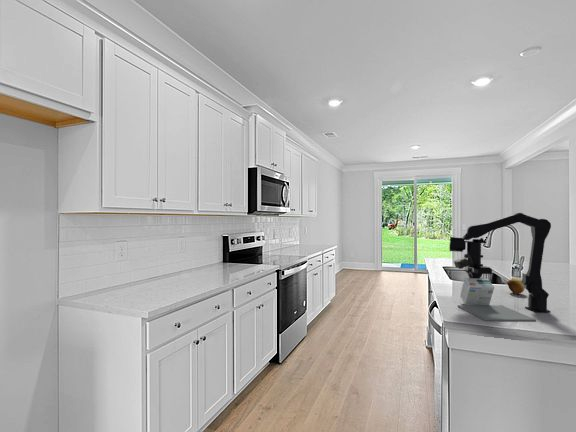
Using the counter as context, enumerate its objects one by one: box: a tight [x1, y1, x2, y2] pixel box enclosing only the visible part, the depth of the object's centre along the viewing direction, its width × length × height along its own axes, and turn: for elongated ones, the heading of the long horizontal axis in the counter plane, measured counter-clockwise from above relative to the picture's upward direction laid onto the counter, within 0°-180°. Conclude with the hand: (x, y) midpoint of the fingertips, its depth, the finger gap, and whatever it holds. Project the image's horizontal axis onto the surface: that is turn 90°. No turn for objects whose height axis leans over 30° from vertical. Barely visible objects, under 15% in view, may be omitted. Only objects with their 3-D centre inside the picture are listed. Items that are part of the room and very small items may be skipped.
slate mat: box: [457, 304, 537, 322], centre depth 138 cm, size 20×20×1 cm
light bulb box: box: [459, 277, 495, 305], centre depth 150 cm, size 11×7×11 cm, turn 85°
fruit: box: [506, 277, 526, 295], centre depth 173 cm, size 8×8×8 cm
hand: (473, 286), depth 153 cm, fingers closed
